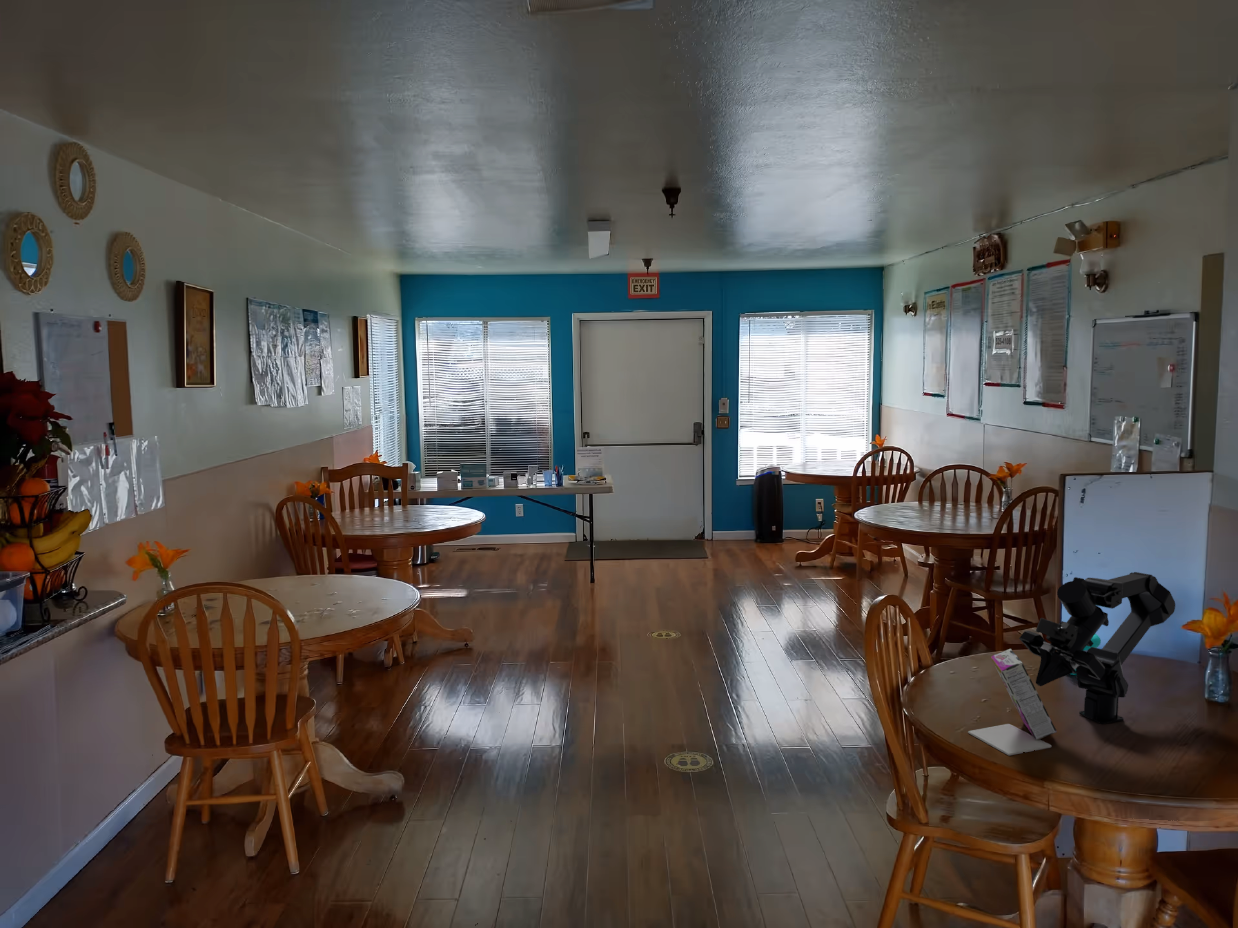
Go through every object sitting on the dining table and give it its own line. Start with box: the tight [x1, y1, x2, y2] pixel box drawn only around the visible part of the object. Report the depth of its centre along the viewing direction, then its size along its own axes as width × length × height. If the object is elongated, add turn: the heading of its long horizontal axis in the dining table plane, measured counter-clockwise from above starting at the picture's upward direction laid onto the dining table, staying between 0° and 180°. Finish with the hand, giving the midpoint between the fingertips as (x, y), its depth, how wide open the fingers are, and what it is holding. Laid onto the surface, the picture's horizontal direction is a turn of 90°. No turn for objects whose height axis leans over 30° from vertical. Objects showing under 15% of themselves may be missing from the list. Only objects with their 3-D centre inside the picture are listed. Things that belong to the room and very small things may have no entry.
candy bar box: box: [990, 648, 1058, 740], centre depth 194 cm, size 11×5×16 cm, turn 169°
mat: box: [967, 723, 1052, 756], centre depth 191 cm, size 11×12×1 cm
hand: (1037, 684), depth 192 cm, fingers closed
